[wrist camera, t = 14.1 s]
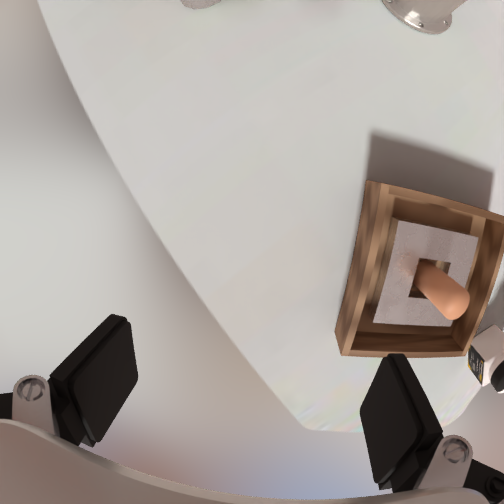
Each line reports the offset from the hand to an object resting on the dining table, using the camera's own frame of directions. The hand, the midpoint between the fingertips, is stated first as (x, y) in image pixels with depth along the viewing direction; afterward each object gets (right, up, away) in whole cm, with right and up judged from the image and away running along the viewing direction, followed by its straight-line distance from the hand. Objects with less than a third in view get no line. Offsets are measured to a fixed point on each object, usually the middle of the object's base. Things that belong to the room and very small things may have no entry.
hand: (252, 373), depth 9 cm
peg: (+24, +1, +26) cm, 35 cm away
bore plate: (+24, +2, +27) cm, 36 cm away
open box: (+24, +2, +27) cm, 36 cm away
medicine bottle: (+44, -13, +29) cm, 54 cm away
